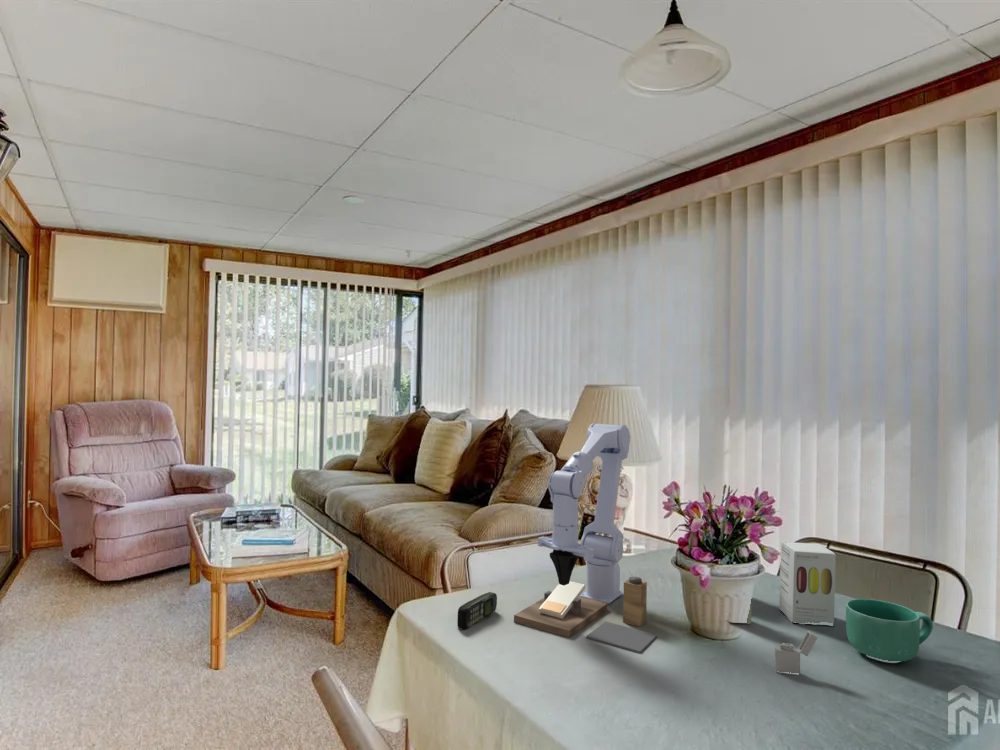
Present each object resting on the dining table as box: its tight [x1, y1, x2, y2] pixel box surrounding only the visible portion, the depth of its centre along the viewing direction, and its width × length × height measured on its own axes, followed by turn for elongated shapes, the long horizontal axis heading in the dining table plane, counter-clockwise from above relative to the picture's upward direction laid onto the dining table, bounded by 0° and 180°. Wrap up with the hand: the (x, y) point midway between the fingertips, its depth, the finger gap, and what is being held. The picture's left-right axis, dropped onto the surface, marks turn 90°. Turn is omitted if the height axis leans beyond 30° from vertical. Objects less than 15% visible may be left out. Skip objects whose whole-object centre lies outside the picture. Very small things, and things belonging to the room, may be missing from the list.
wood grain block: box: [622, 576, 648, 627], centre depth 136 cm, size 4×4×10 cm
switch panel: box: [513, 590, 609, 638], centre depth 139 cm, size 20×14×4 cm
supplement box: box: [778, 541, 837, 624], centre depth 141 cm, size 10×9×17 cm
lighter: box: [774, 630, 819, 674], centre depth 113 cm, size 7×2×8 cm, turn 78°
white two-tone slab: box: [539, 580, 586, 619], centre depth 139 cm, size 12×6×1 cm, turn 146°
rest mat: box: [585, 621, 658, 654], centre depth 128 cm, size 10×12×1 cm
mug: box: [845, 598, 934, 662], centre depth 121 cm, size 17×13×10 cm
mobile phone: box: [456, 591, 498, 631], centre depth 136 cm, size 5×3×15 cm
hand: (564, 583), depth 135 cm, fingers closed
